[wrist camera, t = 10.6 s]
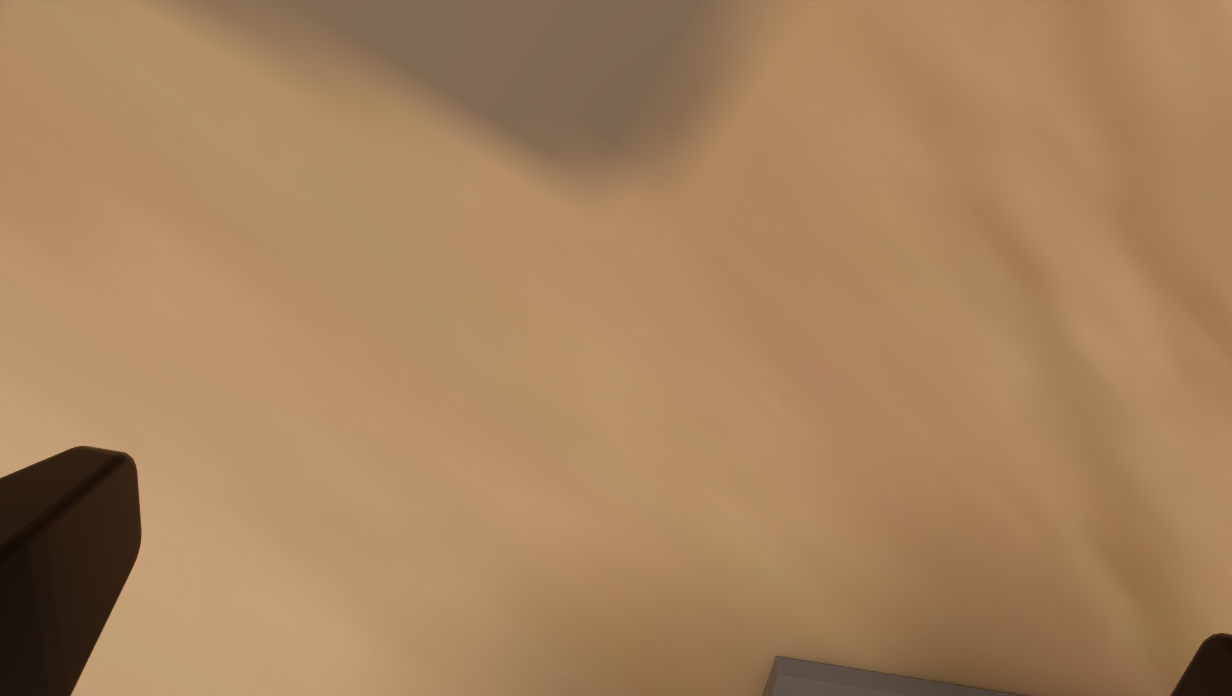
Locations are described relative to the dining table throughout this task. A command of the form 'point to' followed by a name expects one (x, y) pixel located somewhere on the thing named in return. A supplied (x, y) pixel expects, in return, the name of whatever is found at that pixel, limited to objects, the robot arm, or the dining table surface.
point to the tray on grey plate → (854, 682)
